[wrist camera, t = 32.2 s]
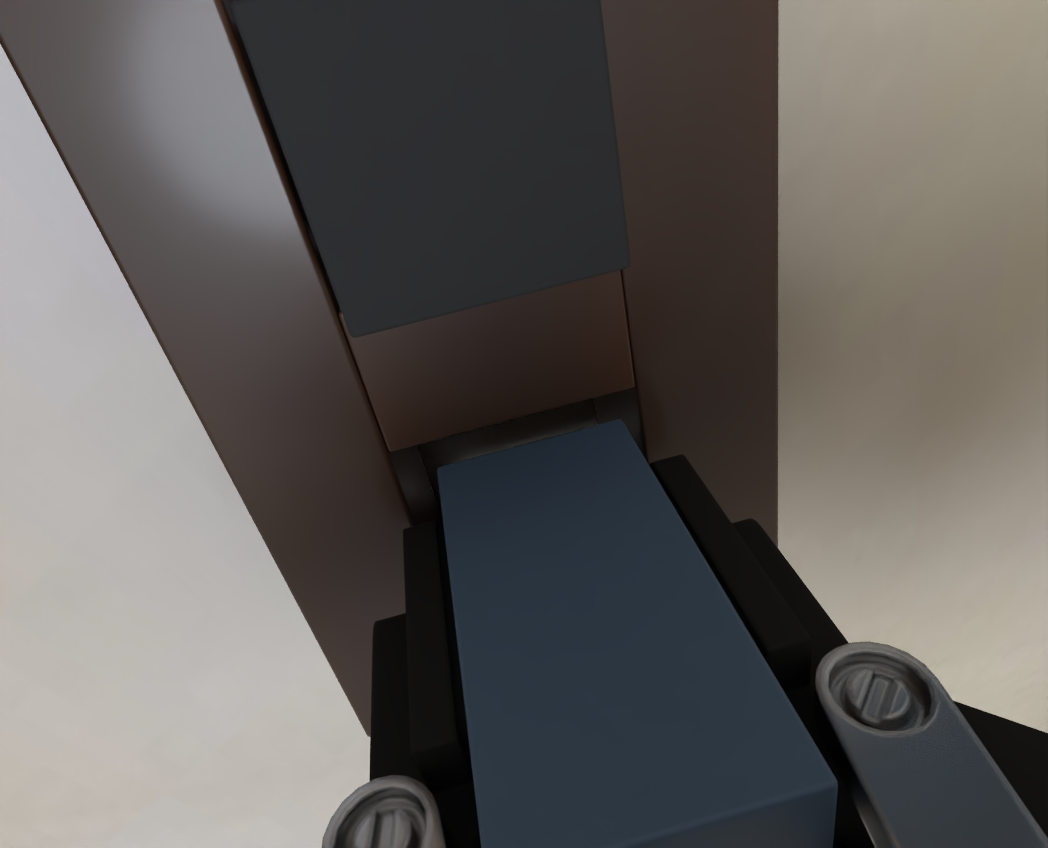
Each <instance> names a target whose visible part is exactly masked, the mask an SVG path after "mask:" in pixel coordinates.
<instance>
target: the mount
mask: <svg viewBox="0 0 1048 848" xmlns="http://www.w3.org/2000/svg"><path fill="white" fill-rule="evenodd" d="M233 1H235V0H0V44H1V45H2V47H3V49H4V51H5V53H6V55H7V57H8V59H9V61H10V62H11V64H12V66H13V68H14V70H15V72H16V74H17V76H18V78H19V79H20V81H21V83H22V85H23V87H24V89H25V91H26V93H27V94H28V96H29V98H30V100H31V102H32V104H33V106H34V108H35V110H36V111H37V113H38V115H39V117H40V119H41V121H42V123H43V125H44V127H45V128H46V130H47V132H48V134H49V136H50V138H51V140H52V142H53V144H54V145H55V147H56V149H57V151H58V153H59V155H60V157H61V159H62V160H63V162H64V164H65V166H66V168H67V170H68V172H69V174H70V176H71V177H72V179H73V181H74V183H75V185H76V187H77V189H78V191H79V193H80V194H81V196H82V198H83V200H84V202H85V204H86V206H87V208H88V210H89V211H90V213H91V215H92V217H93V219H94V221H95V223H96V225H97V227H98V228H99V230H100V232H101V234H102V236H103V238H104V240H105V242H106V243H107V245H108V247H109V249H110V251H111V253H112V255H113V257H114V259H115V260H116V262H117V264H118V266H119V268H120V270H121V272H122V274H123V276H124V277H125V279H126V281H127V283H128V285H129V287H130V289H131V291H132V293H133V294H134V296H135V298H136V300H137V302H138V304H139V306H140V308H141V309H142V311H143V313H144V315H145V317H146V319H147V321H148V323H149V325H150V326H151V328H152V330H153V332H154V334H155V336H156V338H157V340H158V342H159V343H160V345H161V347H162V349H163V351H164V353H165V355H166V357H167V359H168V360H169V362H170V364H171V366H172V368H173V370H174V372H175V374H176V376H177V377H178V379H179V381H180V383H181V385H182V387H183V389H184V391H185V392H186V394H187V396H188V398H189V400H190V402H191V404H192V406H193V408H194V409H195V411H196V413H197V415H198V417H199V419H200V421H201V423H202V425H203V426H204V428H205V430H206V432H207V434H208V436H209V438H210V440H211V442H212V443H213V445H214V447H215V449H216V451H217V453H218V455H219V457H220V458H221V460H222V462H223V464H224V466H225V468H226V470H227V472H228V474H229V475H230V477H231V479H232V481H233V483H234V485H235V487H236V489H237V491H238V492H239V494H240V496H241V498H242V500H243V502H244V504H245V506H246V508H247V509H248V511H249V513H250V515H251V517H252V519H253V521H254V523H255V524H256V526H257V528H258V530H259V532H260V534H261V536H262V538H263V540H264V541H265V543H266V545H267V547H268V549H269V551H270V553H271V555H272V557H273V558H274V560H275V562H276V564H277V566H278V568H279V570H280V572H281V574H282V575H283V577H284V579H285V581H286V583H287V585H288V587H289V589H290V591H291V592H292V594H293V596H294V598H295V600H296V602H297V604H298V606H299V607H300V609H301V611H302V613H303V615H304V617H305V619H306V621H307V623H308V624H309V626H310V628H311V630H312V632H313V634H314V636H315V638H316V640H317V641H318V643H319V645H320V647H321V649H322V651H323V653H324V655H325V657H326V658H327V660H328V662H329V664H330V666H331V668H332V670H333V672H334V673H335V675H336V677H337V679H338V681H339V683H340V685H341V687H342V689H343V690H344V692H345V694H346V696H347V698H348V700H349V702H350V704H351V706H352V707H353V709H354V711H355V713H356V715H357V717H358V719H359V721H360V723H361V724H362V726H363V728H364V730H365V732H366V734H367V736H369V737H371V692H372V642H373V626H374V623H375V621H378V620H382V619H386V618H389V617H393V616H397V615H400V614H404V613H406V609H405V581H404V553H403V530H404V529H406V528H409V527H413V526H417V525H421V524H424V523H428V522H432V521H435V520H436V521H437V522H438V524H439V527H440V528H444V526H443V517H442V509H441V506H439V508H438V505H437V502H436V499H435V496H434V493H433V490H432V487H431V484H430V481H429V478H428V475H427V472H426V469H425V466H424V463H423V460H422V457H421V454H420V451H419V448H418V445H419V444H423V443H427V442H431V441H434V440H438V439H442V438H446V437H449V436H453V435H457V434H461V433H464V432H468V431H472V430H476V429H479V428H483V427H487V426H491V425H494V424H498V423H502V422H506V421H509V420H513V419H517V418H521V417H524V416H528V415H532V414H536V413H539V412H543V411H547V410H551V409H554V408H558V407H562V406H566V405H569V404H573V403H577V402H581V401H585V400H588V399H592V398H594V404H595V410H596V416H597V422H598V425H599V424H603V423H606V422H610V421H614V420H618V419H621V420H622V421H623V422H624V424H625V426H626V428H627V429H628V431H629V433H630V434H631V436H632V438H633V439H634V441H635V443H636V444H637V446H638V448H639V449H640V451H641V453H642V454H643V456H644V458H645V459H646V461H647V463H648V464H650V463H651V462H655V461H658V460H662V459H666V458H669V457H673V456H677V455H681V454H682V455H684V456H685V457H686V458H687V459H688V461H689V462H690V464H691V465H692V467H693V468H694V470H695V471H696V472H697V474H698V475H699V477H700V478H701V480H702V481H703V483H704V484H705V485H706V487H707V488H708V490H709V491H710V493H711V494H712V495H713V497H714V498H715V500H716V501H717V503H718V504H719V506H720V507H721V508H722V510H723V511H724V513H725V514H726V516H727V517H728V519H729V520H730V521H731V523H735V522H738V521H742V520H745V519H749V518H752V519H754V520H756V521H757V522H758V523H759V524H760V526H761V527H762V528H763V529H764V531H765V532H766V533H767V535H768V536H769V537H770V539H771V540H772V541H773V543H774V544H775V545H776V547H777V548H778V0H601V9H602V17H603V26H604V34H605V43H606V52H607V60H608V69H609V77H610V86H611V95H612V103H613V112H614V120H615V129H616V138H617V146H618V155H619V163H620V172H621V181H622V189H623V198H624V206H625V215H626V224H627V232H628V241H629V249H630V258H631V264H630V267H628V268H626V269H623V270H619V271H615V272H611V273H607V274H603V275H599V276H595V277H591V278H588V279H584V280H580V281H576V282H572V283H568V284H564V285H560V286H556V287H552V288H549V289H545V290H541V291H537V292H533V293H529V294H525V295H521V296H517V297H513V298H509V299H506V300H502V301H498V302H494V303H490V304H486V305H482V306H478V307H474V308H470V309H467V310H463V311H459V312H455V313H451V314H447V315H443V316H439V317H435V318H431V319H428V320H424V321H420V322H416V323H412V324H408V325H404V326H400V327H396V328H392V329H388V330H385V331H381V332H377V333H373V334H369V335H365V336H361V337H357V338H353V337H352V336H351V335H350V334H349V332H348V329H347V326H346V323H345V321H344V318H343V315H342V312H341V310H340V307H339V304H338V301H337V299H336V296H335V293H334V290H333V288H332V285H331V282H330V279H329V277H328V274H327V271H326V268H325V266H324V263H323V260H322V257H321V255H320V252H319V249H318V246H317V244H316V241H315V238H314V235H313V233H312V230H311V227H310V224H309V222H308V219H307V216H306V213H305V211H304V208H303V205H302V202H301V200H300V197H299V194H298V191H297V189H296V186H295V183H294V180H293V178H292V175H291V172H290V169H289V167H288V164H287V161H286V158H285V156H284V153H283V150H282V147H281V145H280V142H279V139H278V136H277V134H276V131H275V128H274V125H273V123H272V120H271V117H270V114H269V112H268V109H267V106H266V103H265V101H264V98H263V95H262V92H261V90H260V87H259V84H258V81H257V79H256V76H255V73H254V70H253V68H252V65H251V62H250V59H249V57H248V54H247V51H246V48H245V46H244V43H243V40H242V37H241V35H240V32H239V29H238V26H237V24H236V21H235V18H234V15H233V13H232V10H231V3H232V2H233Z"/></svg>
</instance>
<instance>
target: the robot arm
mask: <svg viewBox="0 0 1048 848" xmlns="http://www.w3.org/2000/svg"><path fill="white" fill-rule="evenodd" d="M649 466H650V468H651V469H652V471H653V473H654V474H655V476H656V478H657V479H658V481H659V483H660V485H661V486H662V488H663V490H664V491H665V493H666V495H667V496H668V498H669V500H670V501H671V503H672V505H673V506H674V508H675V510H676V511H677V513H678V515H679V516H680V518H681V520H682V521H683V523H684V525H685V526H686V528H687V530H688V531H689V533H690V535H691V536H692V538H693V540H694V541H695V543H696V545H697V547H698V548H699V550H700V552H701V553H702V555H703V557H704V558H705V560H706V562H707V563H708V565H709V567H710V568H711V570H712V572H713V573H714V575H715V577H716V578H717V580H718V582H719V583H720V585H721V587H722V588H723V590H724V592H725V593H726V595H727V597H728V598H729V600H730V602H731V604H732V605H733V607H734V609H735V610H736V612H737V614H738V615H739V617H740V619H741V620H742V622H743V624H744V625H745V627H746V629H747V630H748V632H749V634H750V635H751V637H752V639H753V640H754V642H755V644H756V645H757V647H758V649H759V650H760V652H761V654H762V655H763V657H764V659H765V661H766V662H767V664H768V666H769V667H770V669H771V671H772V672H773V674H774V676H775V677H776V679H777V681H778V682H779V684H780V686H781V687H782V689H783V691H784V692H785V694H786V696H787V697H788V699H789V701H790V702H791V704H792V706H793V707H794V709H795V711H796V712H797V714H798V716H799V718H800V719H801V721H802V723H803V724H804V726H805V728H806V729H807V731H808V733H809V734H810V736H811V738H812V739H813V741H814V743H815V744H816V746H817V748H818V749H819V751H820V753H821V754H822V756H823V758H824V759H825V761H826V763H827V764H828V766H829V768H830V769H831V771H832V773H833V775H834V776H835V778H836V780H837V783H838V792H837V804H836V816H835V827H834V839H833V848H1048V733H1045V732H1042V731H1039V730H1037V729H1034V728H1031V727H1028V726H1025V725H1022V724H1019V723H1016V722H1013V721H1010V720H1008V719H1005V718H1002V717H999V716H996V715H993V714H990V713H987V712H984V711H981V710H979V709H976V708H973V707H970V706H967V705H964V704H961V703H958V702H955V701H953V700H952V699H951V697H950V696H949V694H948V693H947V691H946V690H945V689H944V687H943V686H942V684H941V683H940V681H939V680H938V678H937V677H936V676H935V675H934V674H933V673H932V672H931V671H930V670H929V669H928V668H927V666H926V665H925V664H923V663H922V662H921V661H919V660H918V659H916V658H915V657H913V656H912V655H910V654H909V653H907V652H904V651H902V650H900V649H897V648H895V647H892V646H890V645H885V644H880V643H874V642H854V643H848V641H847V640H846V639H845V637H844V636H843V635H842V633H841V632H840V631H839V629H838V628H837V627H836V625H835V624H834V623H833V621H832V620H831V619H830V617H829V616H828V615H827V613H826V612H825V611H824V609H823V608H822V607H821V605H820V604H819V603H818V601H817V600H816V599H815V597H814V596H813V595H812V593H811V592H810V591H809V589H808V588H807V587H806V585H805V584H804V583H803V581H802V580H801V579H800V577H799V576H798V575H797V573H796V572H795V571H794V569H793V568H792V567H791V565H790V564H789V563H788V561H787V560H786V559H785V557H784V556H783V555H782V553H781V552H780V551H779V549H778V548H777V547H776V545H775V544H774V543H773V541H772V540H771V539H770V537H769V536H768V535H767V533H766V532H765V531H764V529H763V528H762V527H761V526H760V524H759V523H758V522H757V521H756V520H754V519H752V518H749V519H745V520H742V521H738V522H735V523H731V521H730V520H729V519H728V517H727V516H726V514H725V513H724V511H723V510H722V508H721V507H720V506H719V504H718V503H717V501H716V500H715V498H714V497H713V495H712V494H711V493H710V491H709V490H708V488H707V487H706V485H705V484H704V483H703V481H702V480H701V478H700V477H699V475H698V474H697V472H696V471H695V470H694V468H693V467H692V465H691V464H690V462H689V461H688V459H687V458H686V457H685V456H684V455H682V454H681V455H677V456H673V457H669V458H666V459H662V460H658V461H655V462H651V463H650V464H649ZM403 553H404V581H405V609H406V613H404V614H400V615H397V616H393V617H389V618H386V619H382V620H378V621H375V623H374V626H373V642H372V692H371V742H370V782H368V783H366V784H364V785H363V786H361V787H359V788H357V789H356V790H355V791H354V792H353V793H352V794H351V795H350V796H349V797H347V798H346V799H345V800H344V801H343V802H342V803H341V805H340V806H339V808H338V809H337V811H336V812H335V813H334V815H333V816H332V818H331V819H330V822H329V824H328V827H327V829H326V832H325V834H324V837H323V841H322V848H481V842H480V833H479V825H478V816H477V807H476V799H475V790H474V782H473V773H472V765H471V756H470V748H469V739H468V731H467V722H466V714H465V705H464V697H463V688H462V679H461V671H460V662H459V654H458V645H457V637H456V628H455V620H454V611H453V603H452V594H451V586H450V577H449V569H448V560H447V551H446V543H445V534H444V528H440V527H439V524H438V522H437V521H436V520H435V521H432V522H428V523H424V524H421V525H417V526H413V527H409V528H406V529H404V530H403Z"/></svg>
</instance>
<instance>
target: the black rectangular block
mask: <svg viewBox="0 0 1048 848" xmlns="http://www.w3.org/2000/svg"><path fill="white" fill-rule="evenodd" d="M231 10H232V13H233V15H234V18H235V21H236V24H237V26H238V29H239V32H240V35H241V37H242V40H243V43H244V46H245V48H246V51H247V54H248V57H249V59H250V62H251V65H252V68H253V70H254V73H255V76H256V79H257V81H258V84H259V87H260V90H261V92H262V95H263V98H264V101H265V103H266V106H267V109H268V112H269V114H270V117H271V120H272V123H273V125H274V128H275V131H276V134H277V136H278V139H279V142H280V145H281V147H282V150H283V153H284V156H285V158H286V161H287V164H288V167H289V169H290V172H291V175H292V178H293V180H294V183H295V186H296V189H297V191H298V194H299V197H300V200H301V202H302V205H303V208H304V211H305V213H306V216H307V219H308V222H309V224H310V227H311V230H312V233H313V235H314V238H315V241H316V244H317V246H318V249H319V252H320V255H321V257H322V260H323V263H324V266H325V268H326V271H327V274H328V277H329V279H330V282H331V285H332V288H333V290H334V293H335V296H336V299H337V301H338V304H339V307H340V310H341V312H342V315H343V318H344V321H345V323H346V326H347V329H348V332H349V334H350V335H351V336H352V337H353V338H357V337H361V336H365V335H369V334H373V333H377V332H381V331H385V330H388V329H392V328H396V327H400V326H404V325H408V324H412V323H416V322H420V321H424V320H428V319H431V318H435V317H439V316H443V315H447V314H451V313H455V312H459V311H463V310H467V309H470V308H474V307H478V306H482V305H486V304H490V303H494V302H498V301H502V300H506V299H509V298H513V297H517V296H521V295H525V294H529V293H533V292H537V291H541V290H545V289H549V288H552V287H556V286H560V285H564V284H568V283H572V282H576V281H580V280H584V279H588V278H591V277H595V276H599V275H603V274H607V273H611V272H615V271H619V270H623V269H626V268H628V267H630V264H631V258H630V249H629V241H628V232H627V224H626V215H625V206H624V198H623V189H622V181H621V172H620V163H619V155H618V146H617V138H616V129H615V120H614V112H613V103H612V95H611V86H610V77H609V69H608V60H607V52H606V43H605V34H604V26H603V17H602V9H601V0H235V1H233V2H232V3H231Z"/></svg>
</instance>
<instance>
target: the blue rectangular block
mask: <svg viewBox="0 0 1048 848" xmlns="http://www.w3.org/2000/svg"><path fill="white" fill-rule="evenodd" d="M437 475H438V483H439V492H440V500H441V509H442V517H443V526H444V534H445V543H446V551H447V560H448V569H449V577H450V586H451V594H452V603H453V611H454V620H455V628H456V637H457V645H458V654H459V662H460V671H461V679H462V688H463V697H464V705H465V714H466V722H467V731H468V739H469V748H470V756H471V765H472V773H473V782H474V790H475V799H476V807H477V816H478V825H479V833H480V842H481V848H833V839H834V827H835V816H836V804H837V792H838V783H837V780H836V778H835V776H834V775H833V773H832V771H831V769H830V768H829V766H828V764H827V763H826V761H825V759H824V758H823V756H822V754H821V753H820V751H819V749H818V748H817V746H816V744H815V743H814V741H813V739H812V738H811V736H810V734H809V733H808V731H807V729H806V728H805V726H804V724H803V723H802V721H801V719H800V718H799V716H798V714H797V712H796V711H795V709H794V707H793V706H792V704H791V702H790V701H789V699H788V697H787V696H786V694H785V692H784V691H783V689H782V687H781V686H780V684H779V682H778V681H777V679H776V677H775V676H774V674H773V672H772V671H771V669H770V667H769V666H768V664H767V662H766V661H765V659H764V657H763V655H762V654H761V652H760V650H759V649H758V647H757V645H756V644H755V642H754V640H753V639H752V637H751V635H750V634H749V632H748V630H747V629H746V627H745V625H744V624H743V622H742V620H741V619H740V617H739V615H738V614H737V612H736V610H735V609H734V607H733V605H732V604H731V602H730V600H729V598H728V597H727V595H726V593H725V592H724V590H723V588H722V587H721V585H720V583H719V582H718V580H717V578H716V577H715V575H714V573H713V572H712V570H711V568H710V567H709V565H708V563H707V562H706V560H705V558H704V557H703V555H702V553H701V552H700V550H699V548H698V547H697V545H696V543H695V541H694V540H693V538H692V536H691V535H690V533H689V531H688V530H687V528H686V526H685V525H684V523H683V521H682V520H681V518H680V516H679V515H678V513H677V511H676V510H675V508H674V506H673V505H672V503H671V501H670V500H669V498H668V496H667V495H666V493H665V491H664V490H663V488H662V486H661V485H660V483H659V481H658V479H657V478H656V476H655V474H654V473H653V471H652V469H651V468H650V466H649V464H648V463H647V461H646V459H645V458H644V456H643V454H642V453H641V451H640V449H639V448H638V446H637V444H636V443H635V441H634V439H633V438H632V436H631V434H630V433H629V431H628V429H627V428H626V426H625V424H624V422H623V421H622V420H621V419H618V420H614V421H610V422H606V423H603V424H599V425H595V426H591V427H588V428H584V429H580V430H576V431H573V432H569V433H565V434H561V435H558V436H554V437H550V438H546V439H543V440H539V441H535V442H531V443H528V444H524V445H520V446H516V447H513V448H509V449H505V450H501V451H498V452H494V453H490V454H486V455H482V456H479V457H475V458H471V459H467V460H464V461H460V462H456V463H452V464H449V465H445V466H441V467H439V468H438V470H437Z"/></svg>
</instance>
